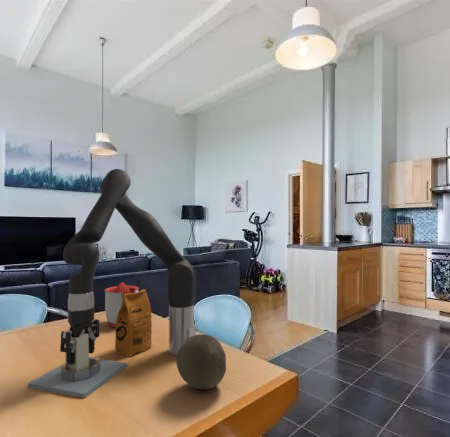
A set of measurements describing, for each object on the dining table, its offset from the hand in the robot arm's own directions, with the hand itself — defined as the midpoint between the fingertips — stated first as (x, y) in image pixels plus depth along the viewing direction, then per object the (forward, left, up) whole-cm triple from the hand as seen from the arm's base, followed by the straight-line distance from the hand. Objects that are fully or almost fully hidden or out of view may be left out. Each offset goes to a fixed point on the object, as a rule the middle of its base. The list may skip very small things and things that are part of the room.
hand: (81, 358), depth 99 cm
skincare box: (+1, +1, -5) cm, 5 cm away
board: (0, 0, -6) cm, 6 cm away
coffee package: (-4, -23, -6) cm, 24 cm away
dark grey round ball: (-39, -4, -6) cm, 40 cm away
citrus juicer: (+18, -48, -6) cm, 52 cm away
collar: (0, 0, -4) cm, 4 cm away
